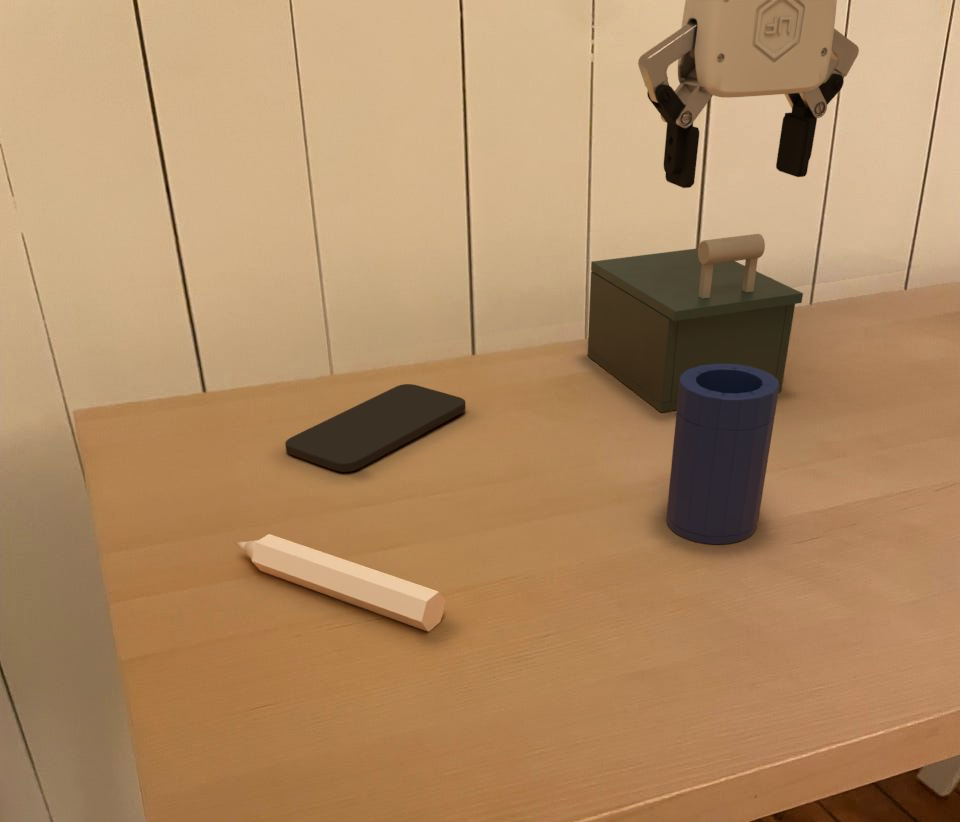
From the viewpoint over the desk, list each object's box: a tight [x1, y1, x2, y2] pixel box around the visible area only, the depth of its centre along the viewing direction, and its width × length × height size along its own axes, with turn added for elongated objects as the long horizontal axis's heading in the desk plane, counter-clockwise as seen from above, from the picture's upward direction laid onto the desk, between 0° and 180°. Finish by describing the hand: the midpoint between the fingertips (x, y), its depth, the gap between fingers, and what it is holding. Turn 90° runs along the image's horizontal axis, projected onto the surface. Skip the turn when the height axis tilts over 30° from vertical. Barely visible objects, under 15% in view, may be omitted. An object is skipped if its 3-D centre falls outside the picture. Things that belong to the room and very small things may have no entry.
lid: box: [590, 233, 804, 321], centre depth 85 cm, size 15×12×5 cm
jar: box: [666, 364, 780, 545], centre depth 66 cm, size 6×6×10 cm
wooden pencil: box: [233, 533, 447, 632], centre depth 62 cm, size 3×2×16 cm
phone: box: [284, 383, 467, 473], centre depth 82 cm, size 7×1×15 cm
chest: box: [587, 270, 796, 413], centre depth 89 cm, size 15×12×8 cm
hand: (735, 178), depth 76 cm, fingers open, 9 cm apart
